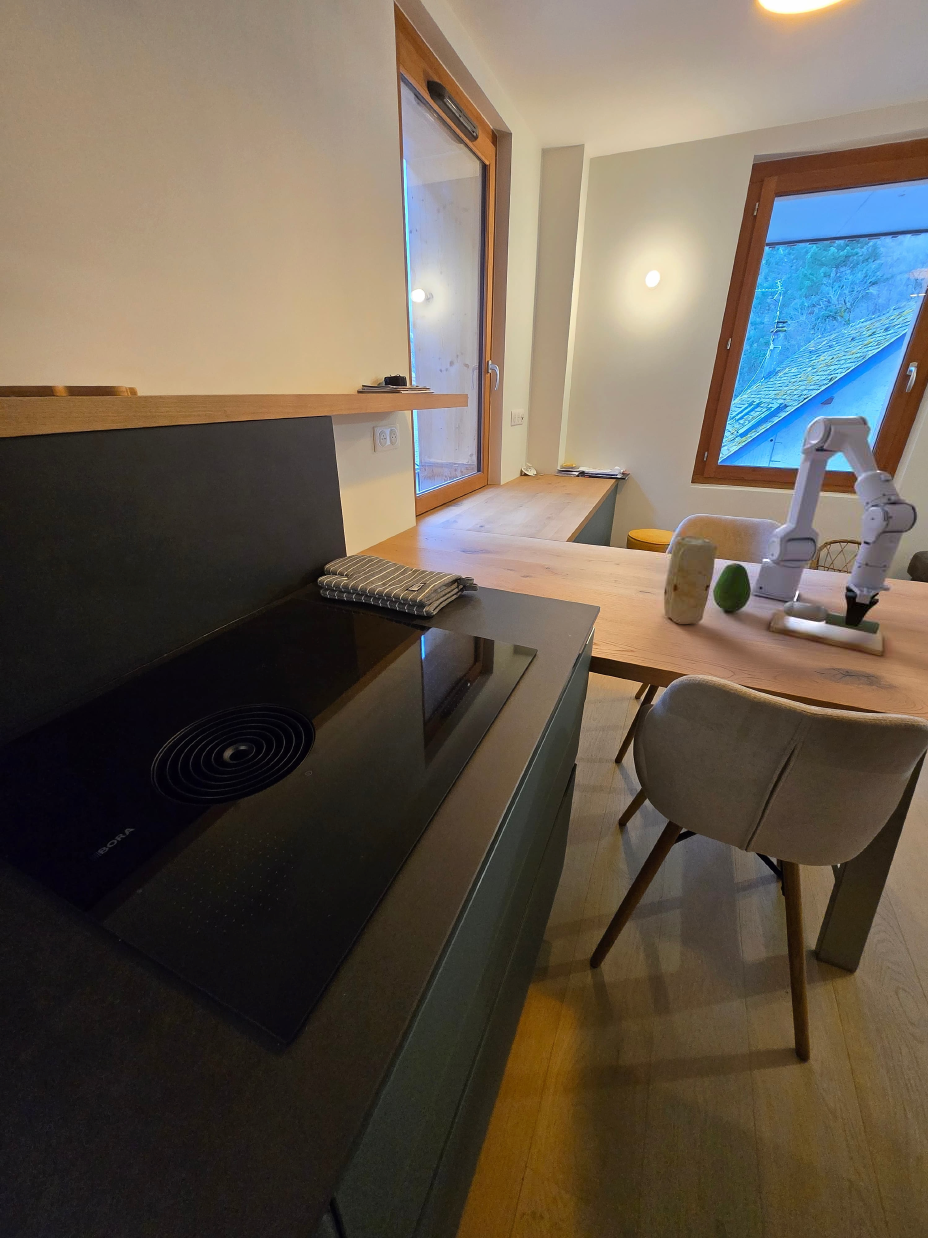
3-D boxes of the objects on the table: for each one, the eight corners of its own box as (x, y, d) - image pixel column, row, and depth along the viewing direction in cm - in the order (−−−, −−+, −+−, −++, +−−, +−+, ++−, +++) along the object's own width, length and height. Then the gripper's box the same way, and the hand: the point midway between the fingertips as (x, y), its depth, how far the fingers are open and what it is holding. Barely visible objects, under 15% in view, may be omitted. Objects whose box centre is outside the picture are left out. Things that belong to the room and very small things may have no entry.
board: (769, 630, 111) (770, 625, 111) (776, 613, 119) (777, 609, 119) (880, 655, 101) (882, 650, 100) (880, 635, 108) (881, 630, 108)
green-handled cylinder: (875, 630, 106) (881, 615, 104) (875, 637, 103) (881, 621, 101) (782, 611, 115) (786, 597, 114) (780, 616, 112) (784, 602, 111)
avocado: (717, 601, 127) (727, 556, 121) (749, 609, 122) (761, 563, 116) (704, 610, 122) (714, 564, 116) (738, 620, 117) (750, 572, 111)
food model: (706, 620, 117) (724, 538, 108) (696, 630, 112) (714, 545, 103) (665, 609, 122) (679, 531, 114) (654, 618, 118) (668, 537, 109)
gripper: (899, 577, 93) (874, 640, 99) (896, 556, 103) (874, 615, 109) (853, 570, 97) (832, 631, 103) (855, 551, 107) (835, 607, 113)
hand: (851, 622), depth 106 cm, fingers closed on green-handled cylinder, 2 cm apart
